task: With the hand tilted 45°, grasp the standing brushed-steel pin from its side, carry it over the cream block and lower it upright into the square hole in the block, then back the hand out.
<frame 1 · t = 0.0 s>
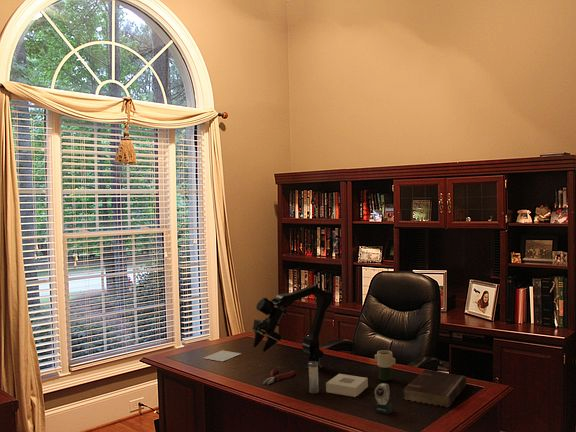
hand: (258, 349, 253), 15 cm above the table, tool tilted 35°, fingers open, 9 cm apart
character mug: (385, 380, 249), on the table
paper stack: (224, 360, 289), on the table
hardback book: (436, 393, 232), on the table
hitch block: (347, 389, 238), on the table
pliers: (274, 379, 257), on the table
watch: (383, 412, 212), on the table
steel pin: (314, 391, 236), on the table
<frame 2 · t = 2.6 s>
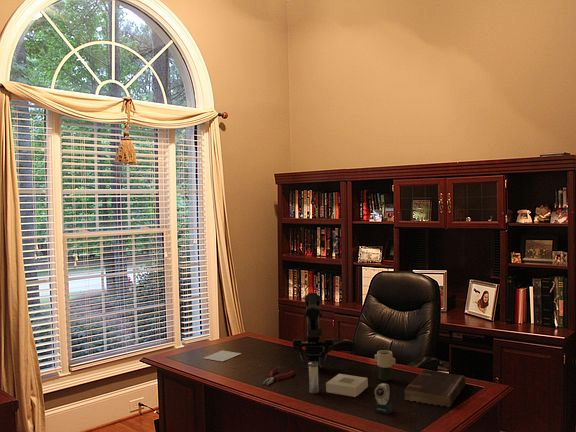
hand: (313, 361, 242), 12 cm above the table, tool tilted 45°, fingers open, 9 cm apart
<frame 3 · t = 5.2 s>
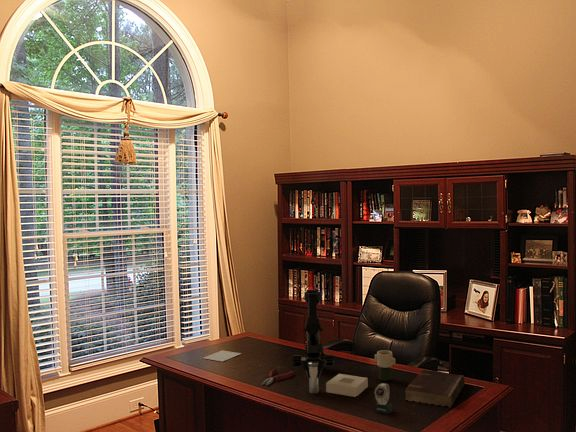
hand: (313, 378, 235), 7 cm above the table, tool tilted 45°, fingers closed on steel pin, 4 cm apart
steel pin: (314, 391, 236), on the table, touching gripper
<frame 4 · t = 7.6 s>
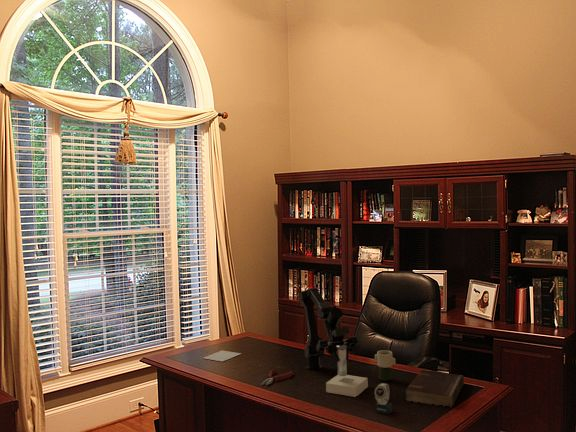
hand: (343, 360, 236), 13 cm above the table, tool tilted 45°, fingers closed on steel pin, 4 cm apart
steel pin: (342, 374, 238), point 7 cm above the table, touching gripper
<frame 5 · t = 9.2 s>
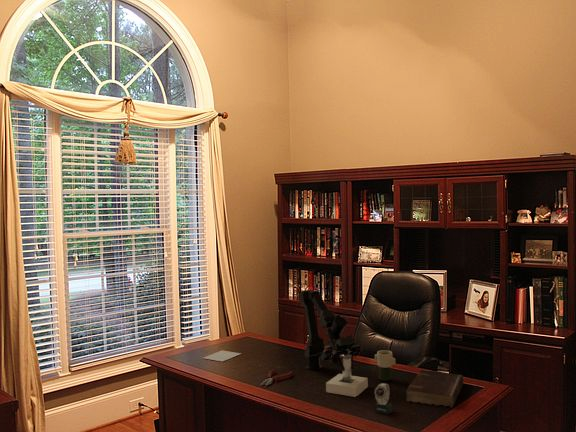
hand: (348, 369, 237), 9 cm above the table, tool tilted 45°, fingers closed on steel pin, 4 cm apart
steel pin: (347, 383, 238), point 3 cm above the table, touching gripper
when the fingers open (8 cm above the table, at t = 10.2 s): steel pin drops 1 cm, resting in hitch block.
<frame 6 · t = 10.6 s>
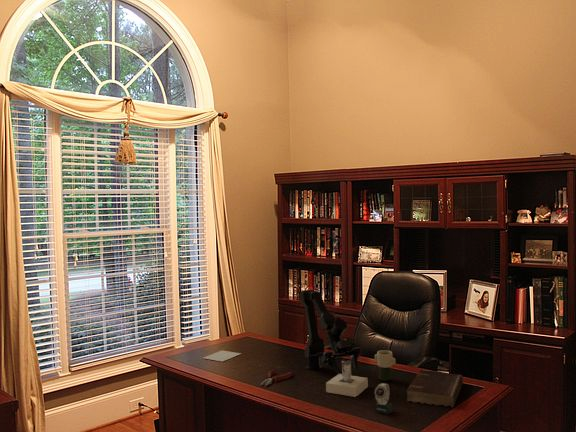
hand: (348, 372, 237), 8 cm above the table, tool tilted 45°, fingers open, 8 cm apart
steel pin: (347, 389, 238), resting in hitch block
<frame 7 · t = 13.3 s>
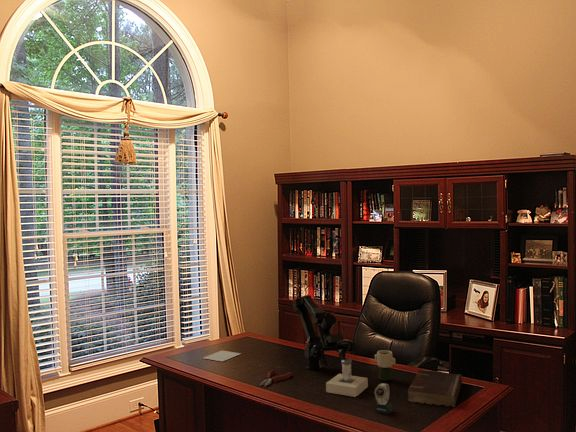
hand: (335, 365, 246), 8 cm above the table, tool tilted 40°, fingers open, 9 cm apart
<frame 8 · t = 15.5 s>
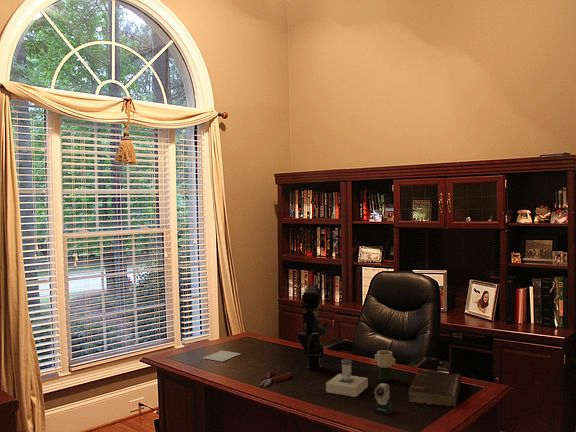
hand: (311, 350, 254), 13 cm above the table, tool pointing down, fingers open, 9 cm apart
at the end: steel pin 0.1 cm off-centre on the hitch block, point 0.0 cm above the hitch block's base; steel pin tilted 0°; the gripper is holding nothing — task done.
